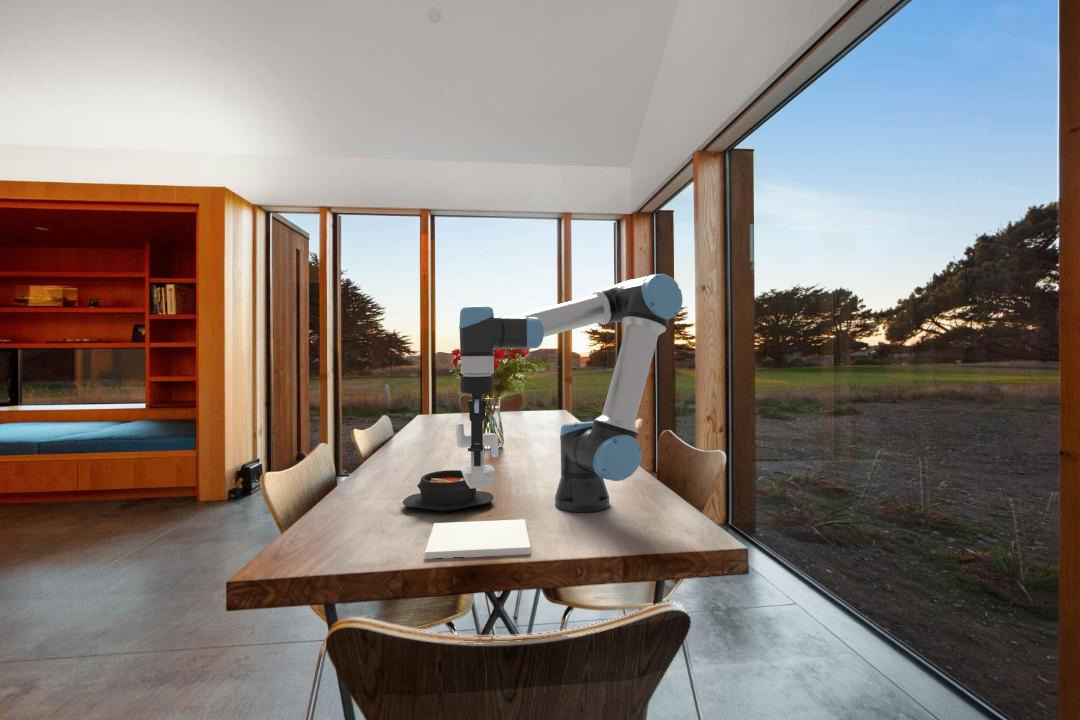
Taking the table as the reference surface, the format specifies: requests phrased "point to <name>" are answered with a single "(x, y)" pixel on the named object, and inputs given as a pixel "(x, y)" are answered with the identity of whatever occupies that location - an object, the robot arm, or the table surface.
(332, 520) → the table surface
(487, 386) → the robot arm
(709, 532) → the table surface
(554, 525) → the table surface
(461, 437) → the figurine
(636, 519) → the table surface
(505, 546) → the board
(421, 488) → the casserole
